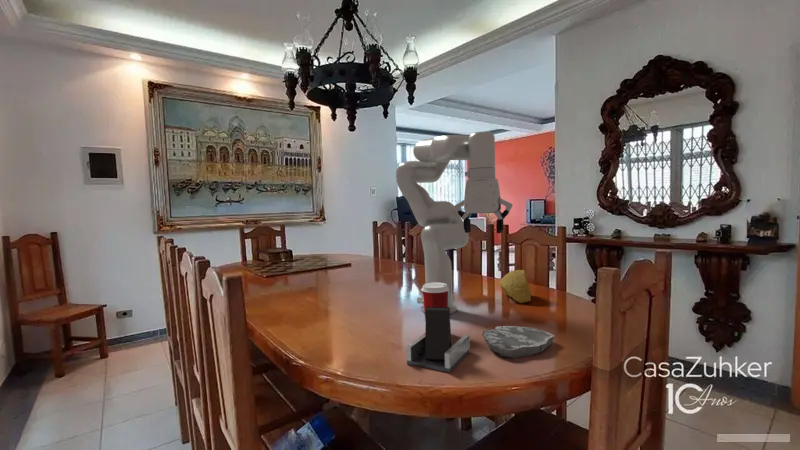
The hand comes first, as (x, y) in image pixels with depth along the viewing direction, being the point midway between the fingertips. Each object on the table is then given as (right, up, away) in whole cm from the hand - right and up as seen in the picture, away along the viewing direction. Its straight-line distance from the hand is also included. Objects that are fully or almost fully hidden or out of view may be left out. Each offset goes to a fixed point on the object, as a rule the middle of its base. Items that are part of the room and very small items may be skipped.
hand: (483, 232), depth 117 cm
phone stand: (-15, -31, -16) cm, 38 cm away
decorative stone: (+21, -27, +38) cm, 52 cm away
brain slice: (+6, -31, -10) cm, 33 cm away
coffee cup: (-14, -31, +2) cm, 34 cm away
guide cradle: (-15, -32, -16) cm, 39 cm away
